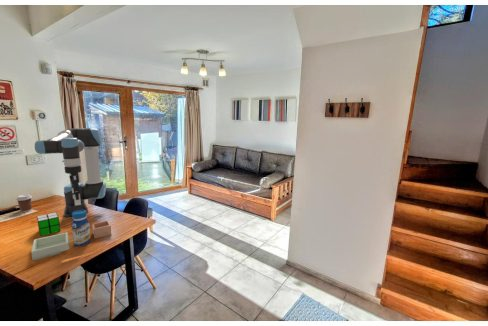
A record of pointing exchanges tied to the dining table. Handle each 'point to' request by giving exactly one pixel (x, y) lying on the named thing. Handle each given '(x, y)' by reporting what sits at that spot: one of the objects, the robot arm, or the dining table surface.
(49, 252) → the green box
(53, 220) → the puzzle cube
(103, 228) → the pink box
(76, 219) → the beverage bottle
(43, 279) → the dining table surface
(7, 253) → the dining table surface
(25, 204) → the coffee cup
